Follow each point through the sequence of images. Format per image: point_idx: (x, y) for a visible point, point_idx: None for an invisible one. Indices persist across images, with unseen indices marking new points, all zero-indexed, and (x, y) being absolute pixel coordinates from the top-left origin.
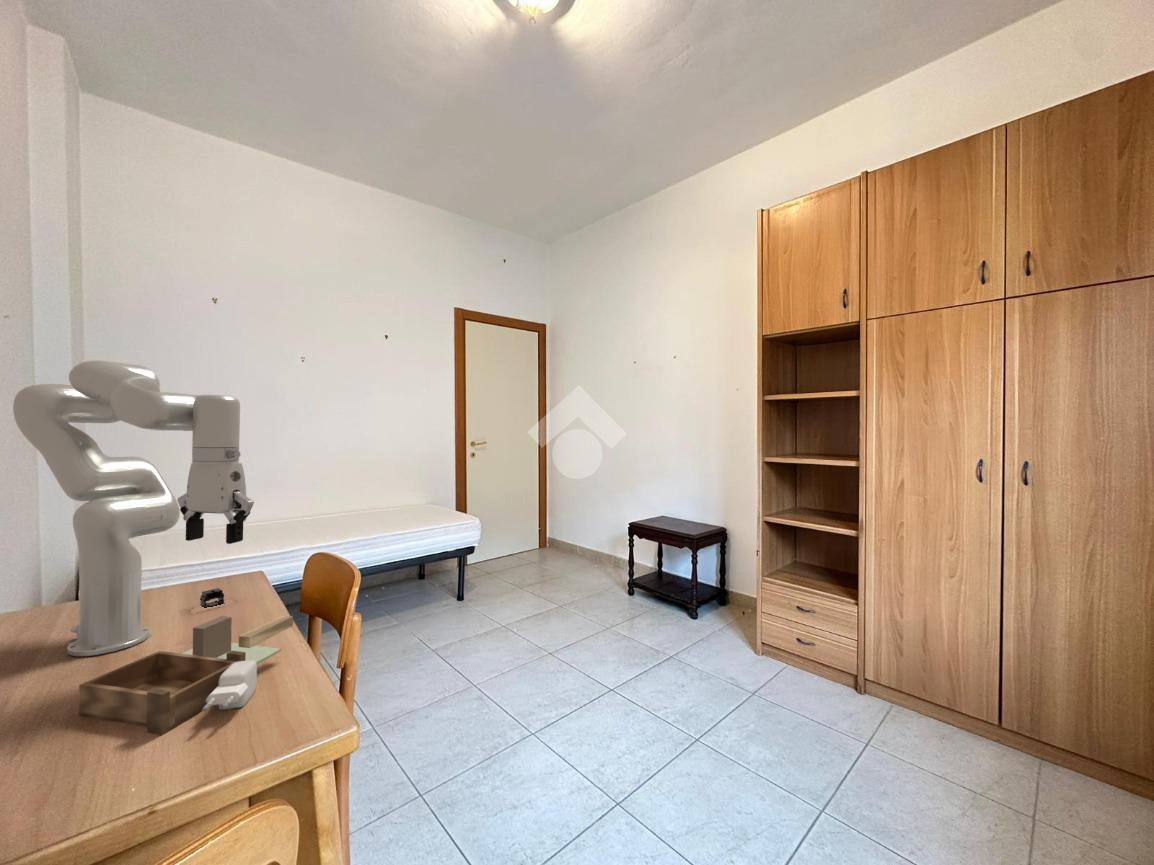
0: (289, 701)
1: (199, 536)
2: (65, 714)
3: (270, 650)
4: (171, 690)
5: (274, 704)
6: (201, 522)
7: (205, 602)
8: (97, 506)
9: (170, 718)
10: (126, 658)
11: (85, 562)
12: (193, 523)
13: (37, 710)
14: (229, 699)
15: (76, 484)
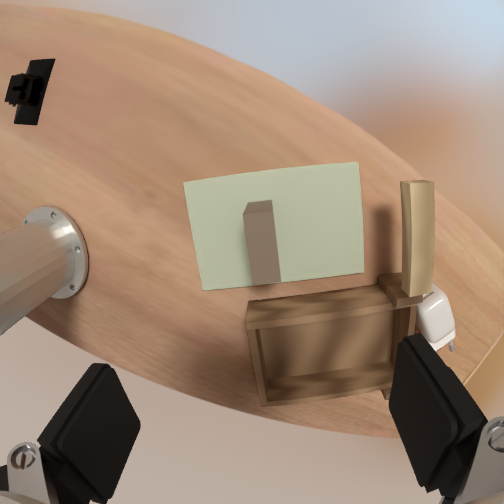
0: (472, 276)
1: (117, 390)
2: (242, 382)
3: (345, 173)
4: (319, 324)
5: (461, 287)
6: (76, 442)
7: (27, 103)
8: None
9: None
10: (125, 276)
11: None
12: (101, 477)
13: (200, 384)
14: (452, 342)
15: None
